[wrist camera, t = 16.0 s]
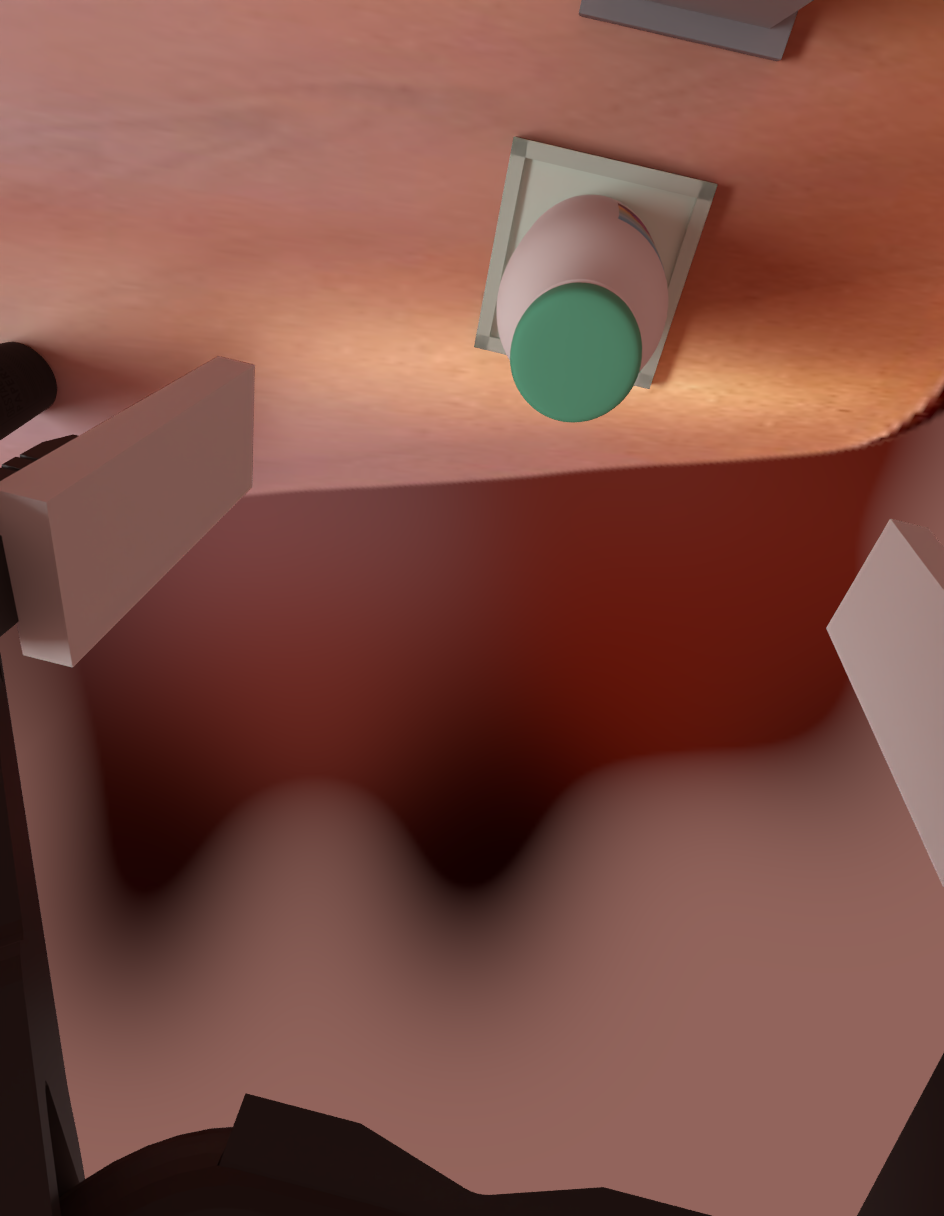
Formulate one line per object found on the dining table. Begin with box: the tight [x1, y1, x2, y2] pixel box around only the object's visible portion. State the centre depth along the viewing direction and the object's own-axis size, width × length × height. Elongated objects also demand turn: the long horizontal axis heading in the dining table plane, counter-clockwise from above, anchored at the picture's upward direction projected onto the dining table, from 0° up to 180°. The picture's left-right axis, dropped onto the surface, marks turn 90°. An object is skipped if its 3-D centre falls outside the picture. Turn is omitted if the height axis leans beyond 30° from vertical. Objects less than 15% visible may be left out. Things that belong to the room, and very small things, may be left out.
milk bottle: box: [497, 194, 668, 422], centre depth 33 cm, size 8×8×20 cm
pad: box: [474, 137, 718, 389], centre depth 42 cm, size 11×11×1 cm
